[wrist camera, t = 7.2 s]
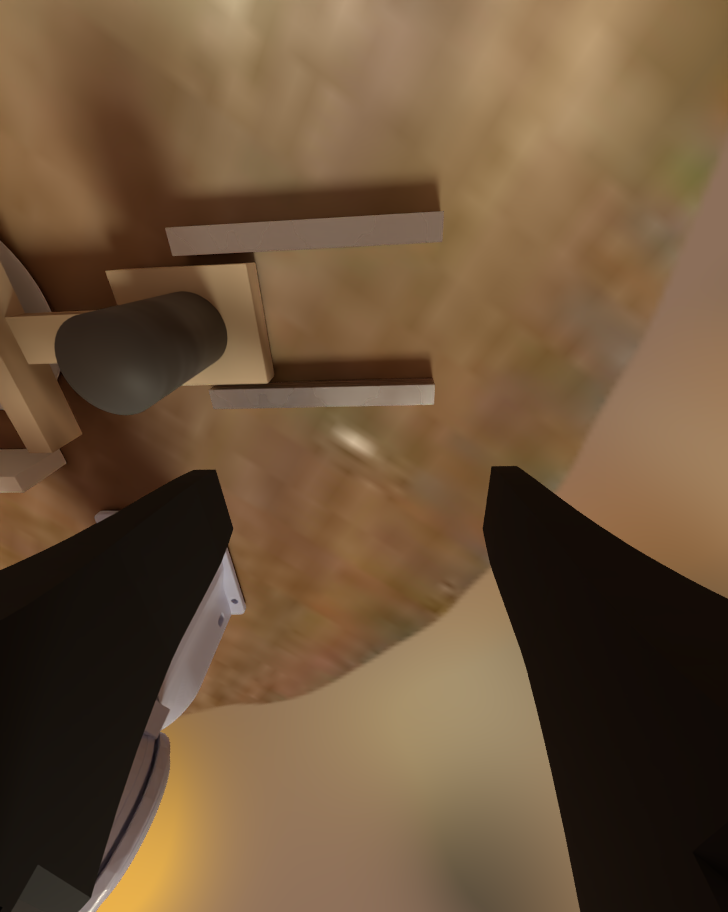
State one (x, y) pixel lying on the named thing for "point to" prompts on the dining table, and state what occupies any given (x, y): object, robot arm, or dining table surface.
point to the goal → (26, 468)
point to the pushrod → (131, 346)
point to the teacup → (24, 290)
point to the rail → (312, 237)
